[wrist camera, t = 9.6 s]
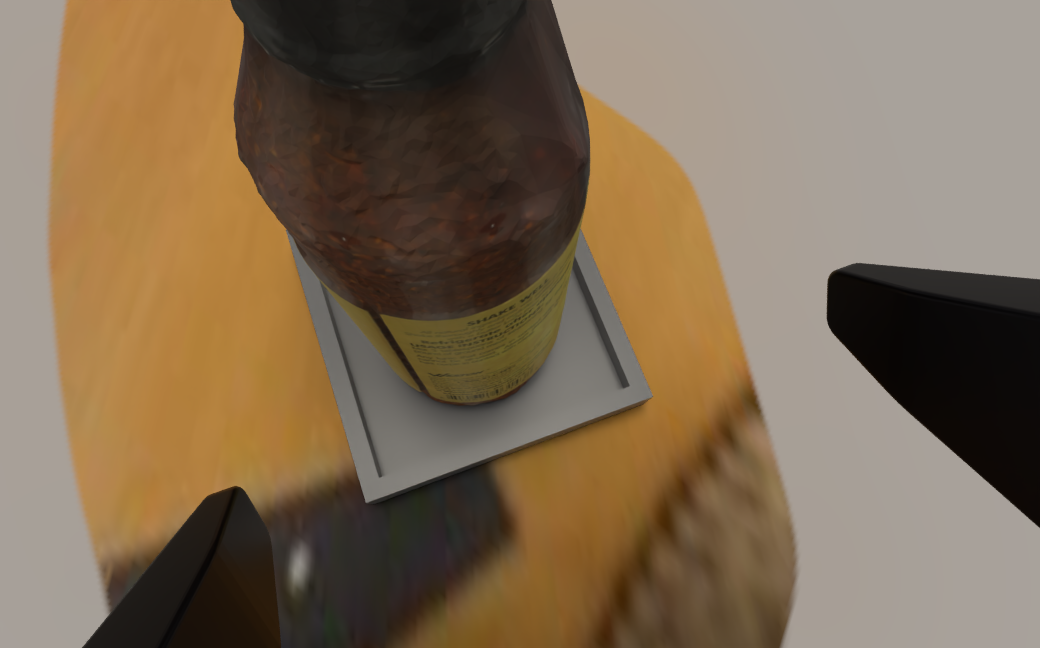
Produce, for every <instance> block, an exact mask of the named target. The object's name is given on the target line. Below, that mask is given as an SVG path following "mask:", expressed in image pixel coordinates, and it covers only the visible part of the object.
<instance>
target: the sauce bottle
mask: <svg viewBox="0 0 1040 648" xmlns="http://www.w3.org/2000/svg"><path fill="white" fill-rule="evenodd" d="M231 3H232V7H233V9H234V11H235V13H236V14H237V16H238V17H239V18H240V20H241V21H242V22H243V24H244V42H243V49H242V55H241V62H240V68H239V75H238V82H237V88H236V94H235V100H234V122H235V127H236V141H237V146H238V155H239V158H240V160H241V161H242V162H243V164H244V165H245V166H246V167H247V168H248V170H249V172H250V174H251V176H252V178H253V180H254V182H255V184H256V187H257V190H258V193H259V194H260V195H261V196H262V198H263V200H264V201H265V202H266V204H267V205H268V207H269V208H270V209H271V211H272V212H273V213H274V214H275V215H276V217H277V219H278V220H279V221H280V222H281V223H282V224H283V225H284V226H285V228H286V229H287V231H288V232H289V234H290V235H291V236H292V237H293V240H294V242H295V244H296V246H297V248H298V251H299V252H300V254H301V256H302V257H303V259H304V261H305V262H306V264H307V265H308V266H309V267H310V269H311V270H312V271H313V273H314V274H315V275H316V277H317V278H318V279H319V280H320V281H321V283H322V284H323V285H324V286H325V288H326V289H327V290H328V291H329V292H330V294H331V295H332V296H333V297H334V299H335V300H336V301H337V302H338V303H339V305H340V306H341V307H342V308H343V309H344V311H345V312H346V313H347V314H348V315H349V317H350V318H351V319H352V320H353V322H354V323H355V324H356V325H357V326H358V327H359V329H360V330H361V331H362V332H363V334H364V335H365V336H366V337H367V338H368V340H369V341H370V342H371V343H372V345H373V346H374V347H375V348H376V350H377V351H378V352H379V353H380V354H381V356H382V357H383V358H384V359H385V361H386V362H387V363H388V364H389V366H390V367H391V368H392V369H393V370H394V372H395V373H396V374H397V375H398V376H399V377H400V378H401V379H402V380H403V381H404V382H406V383H407V384H408V385H409V386H411V387H412V388H414V389H416V390H417V391H419V392H424V393H425V394H426V395H427V396H428V397H430V398H431V399H433V400H435V401H438V402H441V403H446V404H452V405H458V406H463V405H471V406H474V405H477V404H481V403H487V402H493V401H496V400H500V399H505V398H507V397H508V396H510V395H512V394H515V393H516V392H517V391H518V390H519V389H520V388H521V387H522V386H523V385H525V384H526V383H527V381H528V380H529V379H531V377H532V376H533V375H534V374H535V373H536V372H537V371H538V369H539V368H540V367H541V366H542V365H543V363H544V362H545V360H546V358H547V356H548V355H549V353H550V351H551V350H552V348H553V346H554V343H555V341H556V338H557V335H558V331H559V327H560V322H561V317H562V313H563V309H564V305H565V299H566V294H567V288H568V284H569V279H570V275H571V270H572V266H573V261H574V256H575V252H576V247H577V242H578V237H579V233H580V228H581V223H582V218H583V213H584V209H585V204H586V198H587V192H588V185H589V176H590V137H589V128H588V121H587V116H586V111H585V107H584V102H583V98H582V96H581V93H580V90H579V88H578V85H577V82H576V80H575V76H574V73H573V70H572V67H571V63H570V60H569V57H568V54H567V51H566V47H565V44H564V41H563V37H562V34H561V31H560V28H559V25H558V21H557V18H556V14H555V11H554V8H553V4H552V1H551V0H231Z"/></svg>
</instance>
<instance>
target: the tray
mask: <svg viewBox="0 0 1040 648" xmlns="http://www.w3.org/2000/svg"><path fill="white" fill-rule="evenodd" d="M286 232H287V235H288V238H289V242H290V245H291V249H292V252H293V256H294V259H295V262H296V266H297V269H298V273H299V276H300V279H301V283H302V286H303V290H304V293H305V297H306V300H307V303H308V307H309V310H310V314H311V317H312V320H313V324H314V327H315V331H316V334H317V337H318V341H319V344H320V348H321V351H322V355H323V358H324V361H325V365H326V368H327V372H328V375H329V378H330V382H331V385H332V389H333V392H334V395H335V399H336V402H337V406H338V409H339V413H340V416H341V419H342V423H343V426H344V430H345V433H346V436H347V440H348V443H349V447H350V450H351V453H352V457H353V460H354V464H355V467H356V471H357V474H358V477H359V481H360V484H361V488H362V491H363V494H364V498H365V501H366V503H369V504H376V503H379V502H382V501H384V500H387V499H390V498H392V497H395V496H398V495H400V494H403V493H406V492H408V491H411V490H414V489H416V488H419V487H422V486H425V485H427V484H430V483H433V482H435V481H438V480H441V479H443V478H446V477H449V476H451V475H454V474H457V473H460V472H462V471H465V470H468V469H470V468H473V467H476V466H478V465H481V464H484V463H486V462H489V461H492V460H494V459H497V458H500V457H503V456H505V455H508V454H511V453H513V452H516V451H519V450H521V449H524V448H527V447H529V446H532V445H535V444H537V443H540V442H543V441H546V440H548V439H551V438H554V437H556V436H559V435H562V434H564V433H567V432H570V431H572V430H575V429H578V428H581V427H583V426H586V425H589V424H591V423H594V422H597V421H599V420H602V419H605V418H607V417H610V416H613V415H615V414H618V413H621V412H624V411H626V410H629V409H632V408H634V407H637V406H640V405H642V404H644V403H645V402H647V401H648V400H649V399H651V398H652V397H653V395H652V393H651V391H650V388H649V386H648V384H647V381H646V379H645V377H644V374H643V372H642V370H641V367H640V365H639V363H638V360H637V358H636V356H635V354H634V351H633V349H632V347H631V344H630V342H629V340H628V337H627V335H626V333H625V330H624V328H623V326H622V323H621V321H620V319H619V316H618V314H617V312H616V310H615V307H614V305H613V303H612V300H611V298H610V296H609V293H608V291H607V289H606V286H605V284H604V282H603V279H602V277H601V275H600V272H599V270H598V268H597V266H596V263H595V261H594V259H593V256H592V254H591V252H590V249H589V247H588V245H587V242H586V240H585V238H584V235H583V233H582V231H581V229H580V233H579V237H578V242H577V247H576V252H575V256H574V261H573V266H572V270H571V275H570V279H569V284H568V288H567V294H566V299H565V305H564V309H563V313H562V317H561V322H560V327H559V331H558V335H557V338H556V341H555V343H554V346H553V348H552V350H551V351H550V353H549V355H548V356H547V358H546V360H545V362H544V363H543V365H542V366H541V367H540V368H539V369H538V371H537V372H536V373H535V374H534V375H533V376H532V377H531V379H529V380H528V381H527V383H526V384H525V385H523V386H522V387H521V388H520V389H519V390H518V391H517V392H516V393H515V394H512V395H510V396H508V397H507V398H505V399H500V400H496V401H493V402H487V403H481V404H477V405H474V406H471V405H463V406H458V405H452V404H446V403H441V402H438V401H435V400H433V399H431V398H430V397H428V396H427V395H426V394H425V393H424V392H419V391H417V390H416V389H414V388H412V387H411V386H409V385H408V384H407V383H406V382H404V381H403V380H402V379H401V378H400V377H399V376H398V375H397V374H396V373H395V372H394V370H393V369H392V368H391V367H390V366H389V364H388V363H387V362H386V361H385V359H384V358H383V357H382V356H381V354H380V353H379V352H378V351H377V350H376V348H375V347H374V346H373V345H372V343H371V342H370V341H369V340H368V338H367V337H366V336H365V335H364V334H363V332H362V331H361V330H360V329H359V327H358V326H357V325H356V324H355V323H354V322H353V320H352V319H351V318H350V317H349V315H348V314H347V313H346V312H345V311H344V309H343V308H342V307H341V306H340V305H339V303H338V302H337V301H336V300H335V299H334V297H333V296H332V295H331V294H330V292H329V291H328V290H327V289H326V288H325V286H324V285H323V284H322V283H321V281H320V280H319V279H318V278H317V277H316V275H315V274H314V273H313V271H312V270H311V269H310V267H309V266H308V265H307V264H306V262H305V261H304V259H303V257H302V256H301V254H300V252H299V251H298V248H297V246H296V244H295V242H294V240H293V237H292V236H291V235H290V234H289V232H288V231H287V230H286Z"/></svg>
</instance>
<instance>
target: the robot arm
mask: <svg viewBox="0 0 1040 648" xmlns="http://www.w3.org/2000/svg"><path fill="white" fill-rule="evenodd" d="M827 285H828V286H827V287H828V288H827V322H828V325H829V328H830V329H831V331H832V333H833V334H834V335H835V336H836V337H837V338H838V339H839V341H840V342H841V343H842V344H843V345H844V346H845V347H846V348H847V349H848V350H849V351H850V352H851V353H852V355H854V356H855V358H856V359H857V360H858V361H859V362H860V363H861V364H862V365H863V366H864V367H865V368H866V370H867V371H868V372H869V373H870V374H871V375H872V376H873V377H874V378H875V379H876V380H877V381H878V382H879V383H880V384H881V386H882V387H884V389H885V390H886V391H887V392H888V393H889V394H890V395H891V396H892V397H893V398H894V399H895V400H896V401H897V402H898V403H899V404H900V405H901V406H902V407H903V408H904V409H906V411H908V412H909V413H910V414H911V415H912V416H913V417H914V418H915V419H917V420H918V421H919V422H920V423H921V424H922V425H923V426H925V427H926V428H927V429H928V430H929V431H930V432H932V433H933V434H934V435H935V436H936V437H937V438H938V439H939V440H940V441H942V442H943V443H944V444H945V445H946V446H947V447H948V448H950V449H951V450H952V451H953V452H954V453H955V454H956V455H957V456H959V457H960V458H961V459H962V460H963V461H964V462H966V463H967V464H968V465H969V466H970V467H971V468H972V469H973V470H975V471H976V472H977V473H978V474H979V475H980V476H981V477H983V478H984V479H985V480H986V481H987V482H988V483H989V484H990V485H992V486H993V487H994V488H995V489H996V490H997V491H998V492H1000V493H1001V494H1002V495H1003V496H1004V497H1005V498H1006V499H1008V500H1009V501H1010V502H1011V503H1012V504H1013V505H1014V506H1015V507H1017V508H1018V509H1019V510H1020V511H1021V512H1022V513H1024V514H1025V515H1026V516H1027V517H1028V518H1029V519H1030V520H1031V521H1032V522H1034V523H1035V524H1036V525H1037V526H1038V527H1039V528H1040V279H1029V278H1017V277H1007V276H996V275H985V274H974V273H963V272H951V271H941V270H930V269H918V268H908V267H897V266H886V265H875V264H863V263H856V264H851V265H848V266H846V267H843V268H840V269H838V270H835V271H833V272H832V273H831V274H830V276H829V278H828V284H827ZM82 648H281V640H280V627H279V617H278V606H277V596H276V586H275V575H274V565H273V555H272V545H271V539H270V535H269V532H268V530H267V528H266V526H265V524H264V522H263V521H262V519H261V517H260V516H259V514H258V512H257V510H256V509H255V507H254V505H253V504H252V502H251V500H250V499H249V497H248V495H247V494H246V492H245V491H244V490H243V489H242V488H241V487H238V486H233V487H230V488H227V489H225V490H222V491H219V492H216V493H213V494H211V495H209V496H207V497H206V498H205V499H204V500H203V501H202V502H201V504H200V505H199V506H198V507H197V508H196V510H195V511H194V512H193V513H192V515H191V516H190V517H189V518H188V519H187V521H186V522H185V523H184V524H183V526H182V527H181V528H180V529H179V530H178V532H177V533H176V534H175V535H174V537H173V538H172V539H171V540H170V541H169V543H168V544H167V545H166V546H165V547H164V549H163V550H162V551H161V552H160V554H159V555H158V556H157V557H156V558H155V560H154V561H153V562H152V563H151V565H150V566H149V567H148V568H147V569H146V571H145V572H144V573H143V574H142V575H141V577H140V578H139V579H138V580H137V582H136V583H135V584H134V585H133V586H132V588H131V589H130V590H129V591H128V593H127V594H126V595H125V596H124V597H123V599H122V600H121V601H120V602H119V603H118V605H117V606H116V607H115V608H114V610H113V611H112V612H111V613H110V614H109V616H108V617H107V618H106V619H105V621H104V622H103V623H102V624H101V625H100V627H99V628H98V629H97V630H96V631H95V633H94V634H93V635H92V636H91V638H90V639H89V640H88V641H87V642H86V644H85V645H84V646H83V647H82Z"/></svg>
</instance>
